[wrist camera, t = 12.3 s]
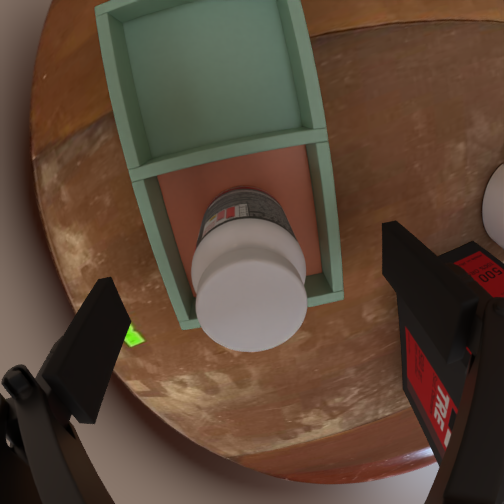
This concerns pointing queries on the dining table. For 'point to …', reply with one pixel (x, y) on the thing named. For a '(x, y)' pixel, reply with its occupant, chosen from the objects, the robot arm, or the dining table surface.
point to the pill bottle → (248, 272)
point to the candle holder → (494, 207)
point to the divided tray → (221, 126)
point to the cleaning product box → (431, 363)
